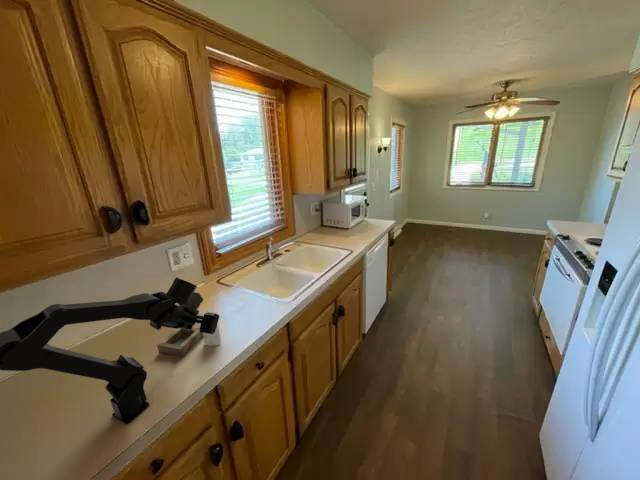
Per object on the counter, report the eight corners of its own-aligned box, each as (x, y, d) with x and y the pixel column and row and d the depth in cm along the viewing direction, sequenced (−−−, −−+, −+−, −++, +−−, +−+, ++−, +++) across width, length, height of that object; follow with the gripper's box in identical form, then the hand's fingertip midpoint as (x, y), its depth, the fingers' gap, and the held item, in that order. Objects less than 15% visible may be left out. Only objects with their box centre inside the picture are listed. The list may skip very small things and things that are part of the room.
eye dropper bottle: (211, 349, 98) (206, 320, 94) (203, 343, 101) (197, 315, 97) (222, 342, 101) (217, 314, 97) (214, 337, 104) (209, 309, 101)
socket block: (182, 357, 94) (180, 349, 93) (159, 353, 97) (157, 345, 95) (203, 336, 105) (202, 328, 104) (182, 333, 107) (180, 325, 106)
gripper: (211, 292, 83) (235, 305, 97) (160, 287, 88) (190, 299, 102) (198, 330, 79) (225, 337, 92) (146, 322, 83) (179, 330, 97)
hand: (204, 324), depth 96 cm, fingers open, 9 cm apart
